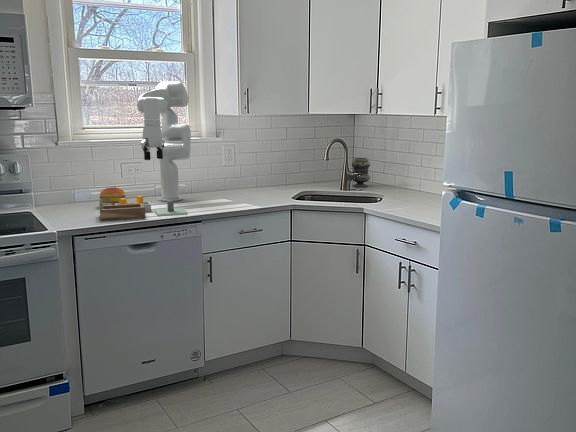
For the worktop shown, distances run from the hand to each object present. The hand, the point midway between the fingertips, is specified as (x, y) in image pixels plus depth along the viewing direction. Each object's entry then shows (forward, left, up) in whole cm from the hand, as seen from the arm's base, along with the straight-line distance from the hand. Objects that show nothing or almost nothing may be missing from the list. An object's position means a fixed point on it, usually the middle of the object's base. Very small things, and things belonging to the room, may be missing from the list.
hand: (153, 159), depth 274 cm
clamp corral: (-8, -10, -26) cm, 29 cm away
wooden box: (+6, -16, -26) cm, 32 cm away
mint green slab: (+4, +7, -27) cm, 28 cm away
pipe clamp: (-8, -10, -26) cm, 29 cm away
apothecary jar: (-42, +133, -26) cm, 141 cm away
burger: (-24, -19, -27) cm, 41 cm away
